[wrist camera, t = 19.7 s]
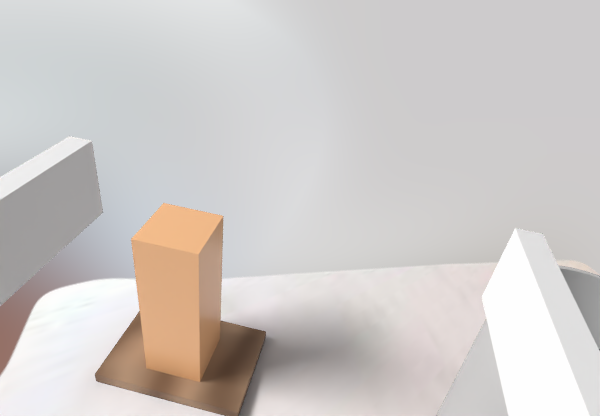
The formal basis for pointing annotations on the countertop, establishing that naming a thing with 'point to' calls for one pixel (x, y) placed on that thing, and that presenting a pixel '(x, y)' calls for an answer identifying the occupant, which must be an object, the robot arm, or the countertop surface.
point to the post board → (204, 395)
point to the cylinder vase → (482, 363)
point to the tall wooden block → (179, 289)
